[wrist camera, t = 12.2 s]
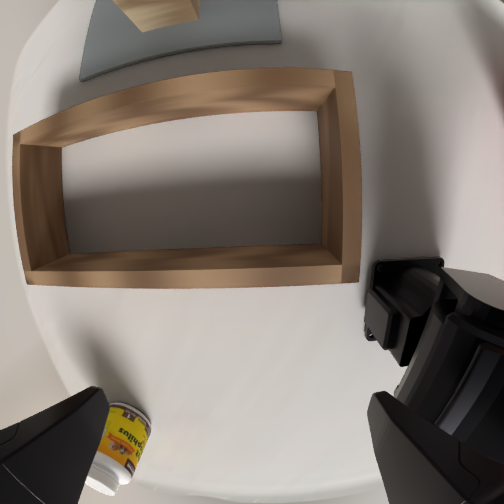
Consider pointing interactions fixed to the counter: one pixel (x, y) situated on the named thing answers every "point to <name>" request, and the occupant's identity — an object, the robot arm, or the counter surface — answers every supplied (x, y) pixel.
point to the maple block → (159, 12)
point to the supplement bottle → (119, 448)
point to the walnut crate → (197, 259)
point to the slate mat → (175, 33)
